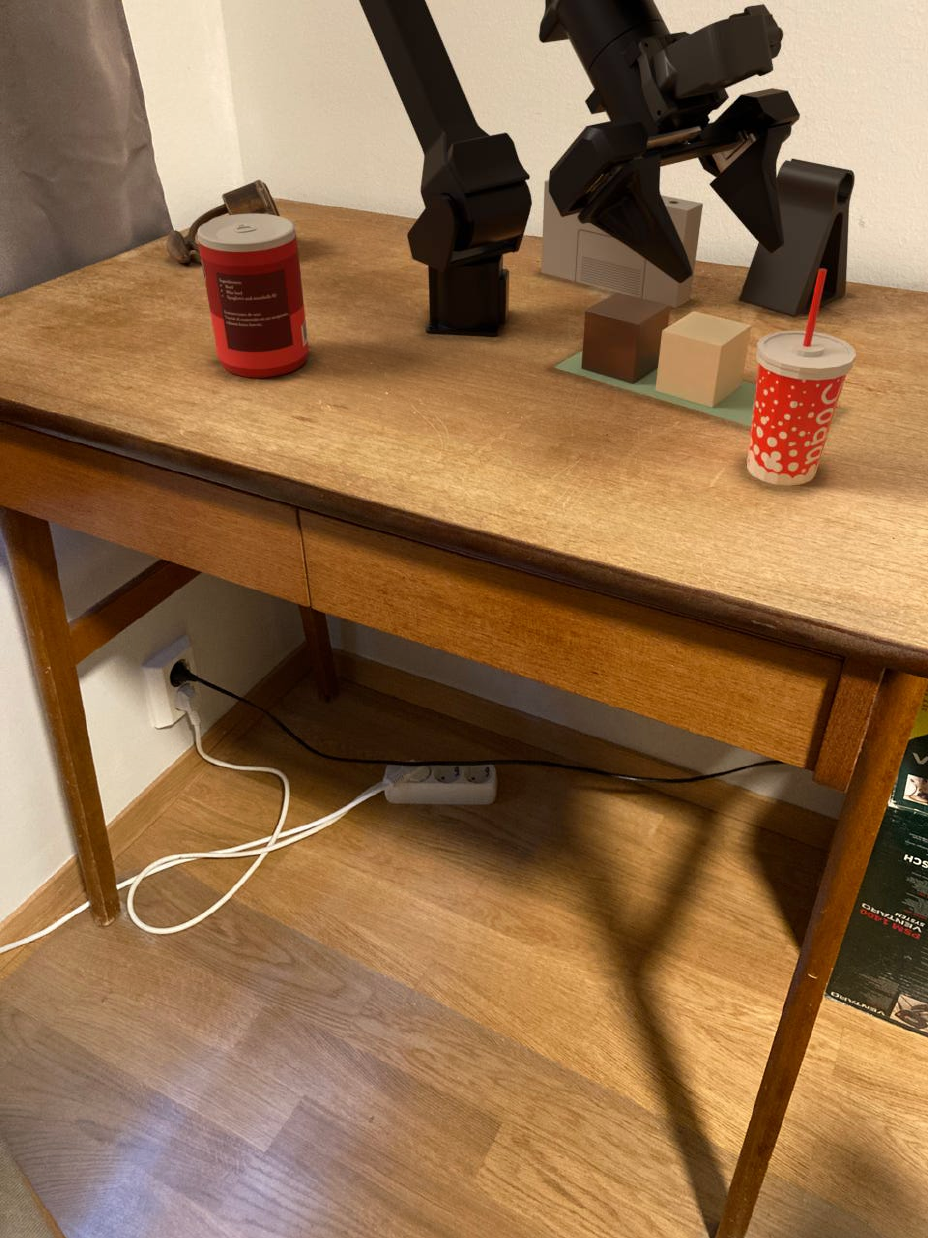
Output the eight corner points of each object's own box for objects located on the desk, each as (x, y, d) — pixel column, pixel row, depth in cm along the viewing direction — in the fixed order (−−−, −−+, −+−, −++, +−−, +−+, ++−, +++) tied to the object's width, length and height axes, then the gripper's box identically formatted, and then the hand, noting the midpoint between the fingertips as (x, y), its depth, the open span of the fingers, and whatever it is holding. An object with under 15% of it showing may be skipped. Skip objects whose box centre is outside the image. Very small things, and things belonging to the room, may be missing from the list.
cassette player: (689, 302, 95) (704, 191, 89) (675, 310, 93) (689, 198, 87) (556, 267, 103) (561, 164, 97) (541, 274, 101) (545, 169, 95)
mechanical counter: (280, 216, 100) (294, 168, 106) (151, 204, 99) (172, 156, 106) (284, 281, 105) (297, 231, 112) (162, 270, 105) (182, 220, 111)
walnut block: (580, 368, 83) (584, 309, 80) (612, 349, 86) (617, 291, 83) (633, 384, 80) (639, 323, 77) (664, 363, 83) (671, 304, 80)
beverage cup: (771, 502, 66) (815, 293, 58) (717, 461, 71) (750, 261, 62) (845, 482, 68) (898, 277, 60) (788, 444, 73) (829, 248, 64)
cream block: (655, 391, 79) (662, 329, 76) (685, 369, 82) (693, 310, 79) (712, 408, 77) (722, 345, 74) (741, 385, 80) (752, 325, 77)
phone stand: (793, 320, 91) (820, 180, 84) (737, 302, 95) (759, 167, 87) (845, 295, 96) (875, 161, 89) (791, 279, 100) (815, 150, 92)
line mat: (553, 370, 83) (553, 366, 83) (598, 343, 87) (599, 340, 87) (798, 444, 73) (799, 440, 72) (836, 410, 77) (837, 406, 77)
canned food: (273, 334, 90) (256, 206, 83) (328, 360, 85) (316, 227, 78) (200, 359, 86) (176, 227, 79) (254, 387, 81) (234, 249, 74)
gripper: (591, -35, 54) (720, 221, 54) (803, -55, 63) (914, 164, 63) (497, 104, 64) (606, 321, 64) (693, 69, 73) (789, 259, 73)
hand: (733, 263), depth 66 cm, fingers open, 9 cm apart
